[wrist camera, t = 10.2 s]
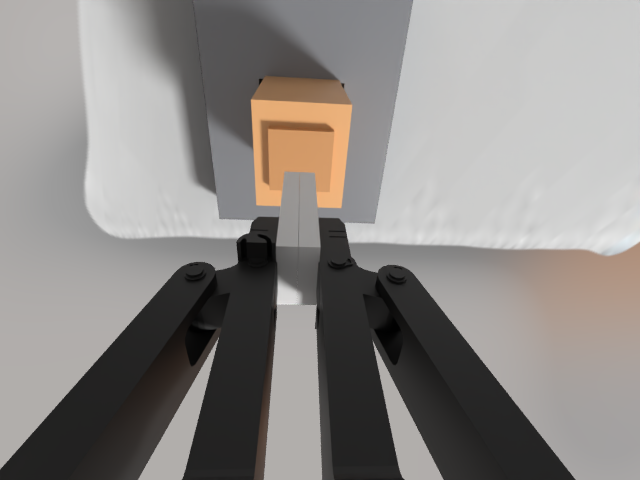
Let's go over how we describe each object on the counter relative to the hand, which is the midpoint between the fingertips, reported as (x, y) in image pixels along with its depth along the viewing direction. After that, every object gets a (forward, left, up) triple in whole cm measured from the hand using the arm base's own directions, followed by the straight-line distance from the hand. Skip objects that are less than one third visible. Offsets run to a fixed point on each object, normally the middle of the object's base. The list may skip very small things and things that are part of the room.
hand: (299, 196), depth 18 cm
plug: (0, 0, -17) cm, 17 cm away
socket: (0, 0, -18) cm, 18 cm away
